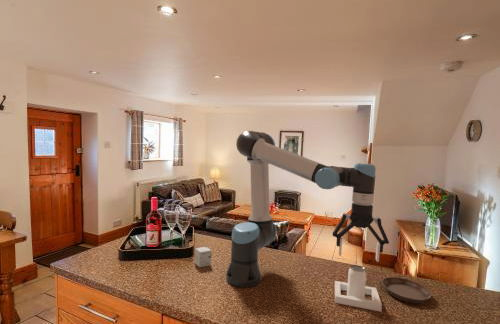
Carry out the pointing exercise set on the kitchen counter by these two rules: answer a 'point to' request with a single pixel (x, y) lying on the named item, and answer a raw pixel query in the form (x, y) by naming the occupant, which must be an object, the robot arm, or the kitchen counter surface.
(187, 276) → the kitchen counter surface
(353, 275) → the can
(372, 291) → the socket collar
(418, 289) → the plant saucer
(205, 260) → the skincare box
